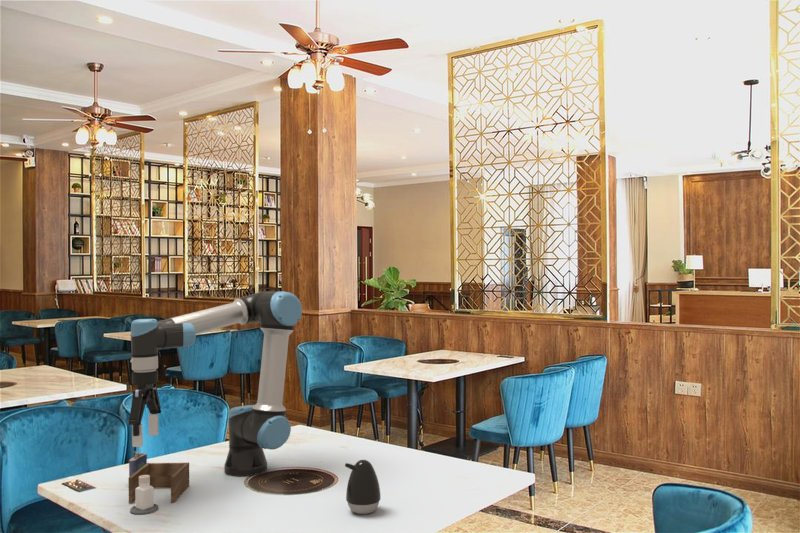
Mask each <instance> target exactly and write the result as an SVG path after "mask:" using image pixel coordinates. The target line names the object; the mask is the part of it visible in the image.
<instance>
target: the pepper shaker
mask: <svg viewBox="0 0 800 533" xmlns="http://www.w3.org/2000/svg"><path fill="white" fill-rule="evenodd" d="M154 491H155V490H154V488H153V487H152V486H150V475H141V476H139V487H137V488H136V489H135V501H134V503H135V504H134V506H135V507H136V508H137V509H141V510H146V509H148V508H151V507H153V506H154V504H155V503H154V500H155V499H154Z"/></svg>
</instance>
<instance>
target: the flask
mask: <svg viewBox="0 0 800 533" xmlns="http://www.w3.org/2000/svg"><path fill="white" fill-rule="evenodd" d="M133 454H134V456H133V457H131V458H130V459H129V460H128V472H129V473H128V478H129V477H130V476H131V475H133V474H134V473H135V472H136V471H138V470H139V469H140V468H142V467H143V466H144V465H145V464H147V462H148V454H147V453H144V452H140V451H137V450H135V451H134V452H133Z"/></svg>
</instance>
